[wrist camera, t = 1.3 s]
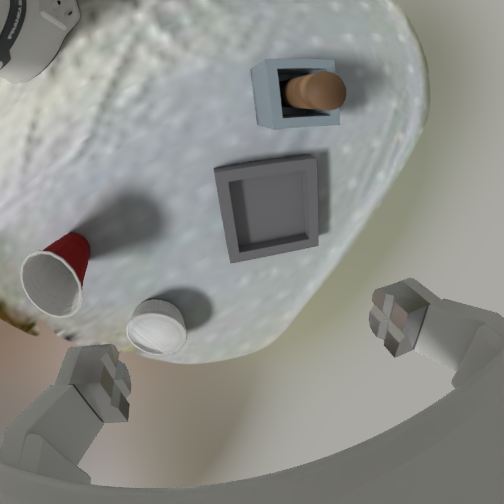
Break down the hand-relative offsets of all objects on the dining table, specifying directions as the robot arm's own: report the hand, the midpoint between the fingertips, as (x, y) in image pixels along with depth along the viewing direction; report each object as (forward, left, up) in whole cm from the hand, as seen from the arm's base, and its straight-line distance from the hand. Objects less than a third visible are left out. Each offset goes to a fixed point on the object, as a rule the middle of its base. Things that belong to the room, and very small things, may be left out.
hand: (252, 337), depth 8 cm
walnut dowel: (-7, +12, -34) cm, 36 cm away
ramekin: (+28, -15, -35) cm, 47 cm away
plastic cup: (+10, -25, -35) cm, 44 cm away
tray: (+10, +8, -35) cm, 37 cm away
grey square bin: (-7, +12, -35) cm, 37 cm away
